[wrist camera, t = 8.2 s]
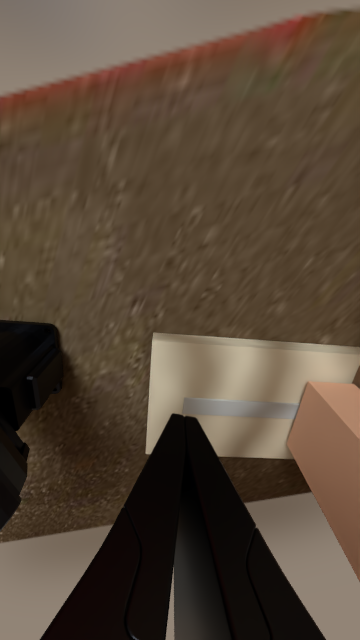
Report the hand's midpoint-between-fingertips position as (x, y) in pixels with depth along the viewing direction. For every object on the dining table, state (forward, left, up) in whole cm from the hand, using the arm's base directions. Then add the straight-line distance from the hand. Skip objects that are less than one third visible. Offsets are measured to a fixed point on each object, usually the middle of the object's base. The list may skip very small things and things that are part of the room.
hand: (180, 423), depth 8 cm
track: (+8, -8, -12) cm, 17 cm away
